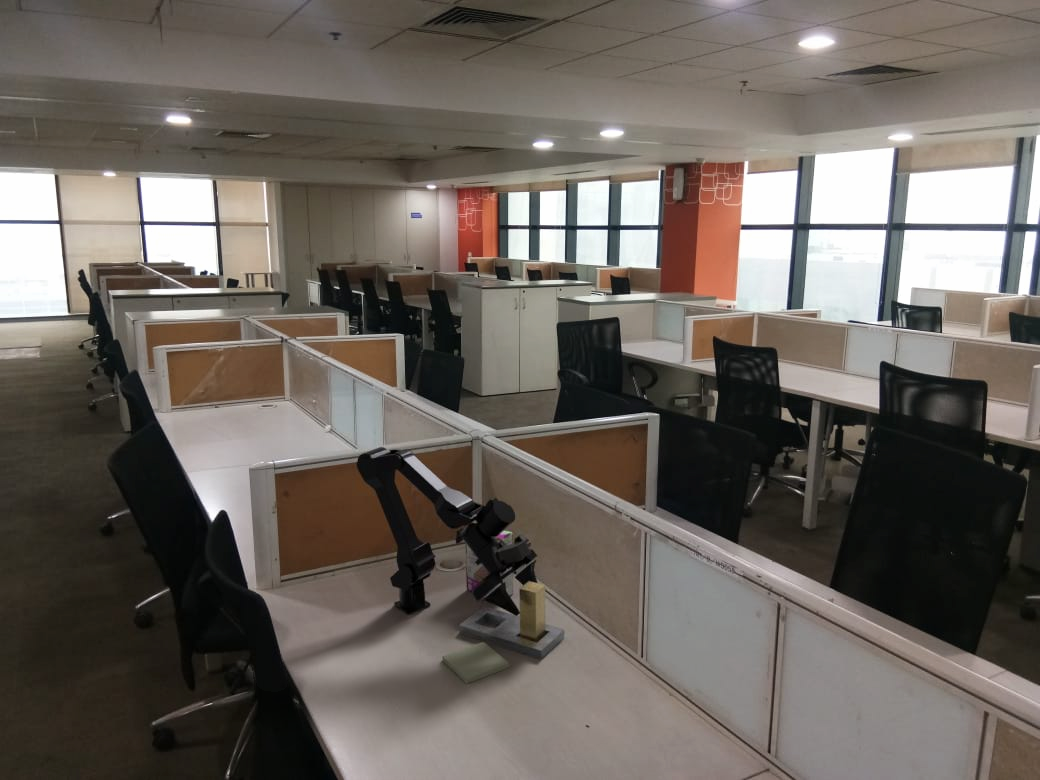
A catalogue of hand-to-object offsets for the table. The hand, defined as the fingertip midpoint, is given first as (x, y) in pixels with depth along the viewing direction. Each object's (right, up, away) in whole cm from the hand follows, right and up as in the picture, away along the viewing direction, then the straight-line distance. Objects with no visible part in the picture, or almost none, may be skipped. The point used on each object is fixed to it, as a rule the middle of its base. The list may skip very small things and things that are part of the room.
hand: (529, 605), depth 166 cm
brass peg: (+1, -8, +1) cm, 8 cm away
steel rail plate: (-4, -8, +4) cm, 10 cm away
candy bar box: (-10, -4, +24) cm, 27 cm away
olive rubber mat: (-11, -10, -7) cm, 17 cm away
